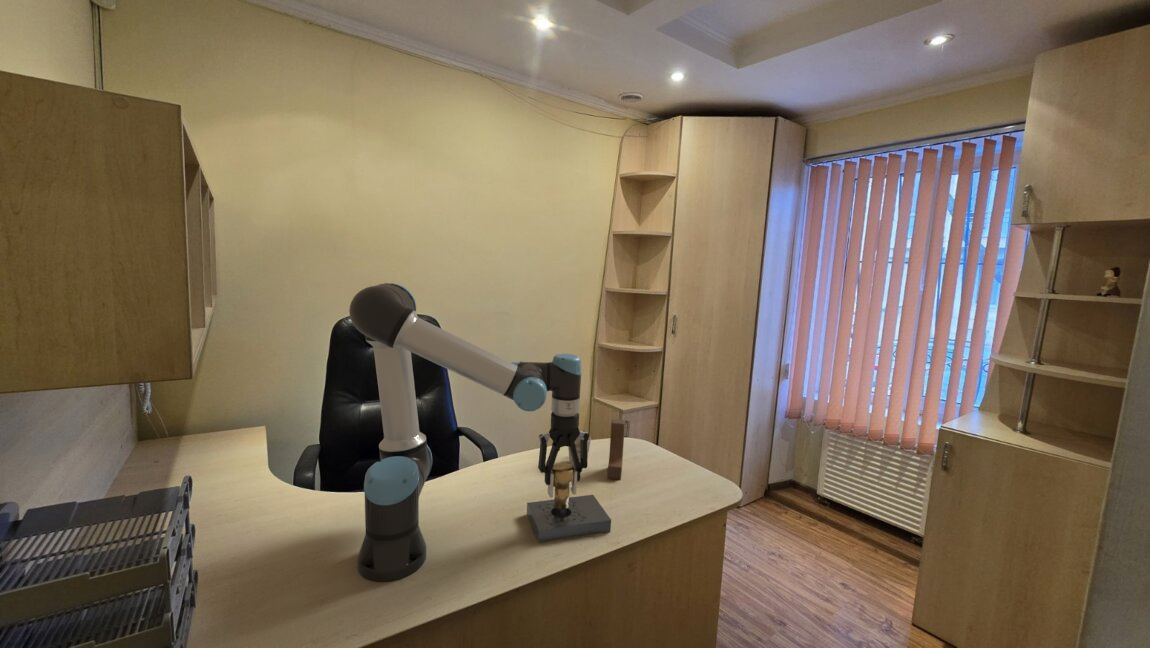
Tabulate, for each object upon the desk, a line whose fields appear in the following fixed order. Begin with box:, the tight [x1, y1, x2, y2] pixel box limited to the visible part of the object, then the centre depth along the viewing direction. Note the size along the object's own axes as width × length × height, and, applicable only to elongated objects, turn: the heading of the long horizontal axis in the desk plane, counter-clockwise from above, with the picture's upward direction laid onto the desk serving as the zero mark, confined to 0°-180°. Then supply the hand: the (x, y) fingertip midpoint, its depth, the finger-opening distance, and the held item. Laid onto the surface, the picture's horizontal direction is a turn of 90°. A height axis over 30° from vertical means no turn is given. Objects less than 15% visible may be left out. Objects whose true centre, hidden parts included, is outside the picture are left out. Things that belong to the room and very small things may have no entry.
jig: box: [526, 494, 612, 544], centre depth 130 cm, size 20×14×4 cm
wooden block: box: [607, 418, 626, 480], centre depth 160 cm, size 9×4×18 cm, turn 172°
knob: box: [552, 462, 575, 510], centre depth 128 cm, size 6×6×11 cm
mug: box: [567, 435, 592, 468], centre depth 169 cm, size 8×13×10 cm, turn 171°
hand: (561, 493), depth 128 cm, fingers closed on knob, 6 cm apart
